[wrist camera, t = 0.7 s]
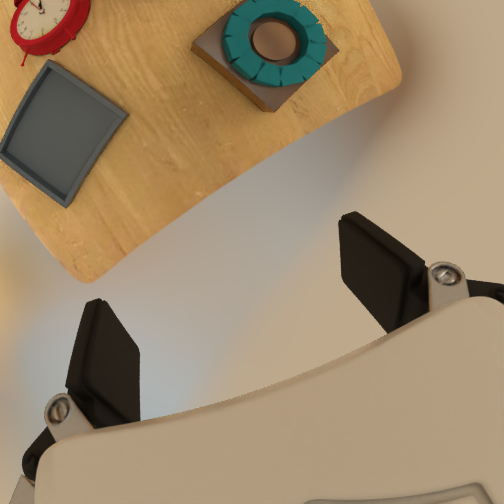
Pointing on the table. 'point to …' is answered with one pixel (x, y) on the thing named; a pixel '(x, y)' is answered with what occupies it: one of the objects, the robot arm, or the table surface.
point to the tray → (59, 132)
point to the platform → (266, 47)
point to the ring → (251, 65)
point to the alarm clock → (47, 24)
